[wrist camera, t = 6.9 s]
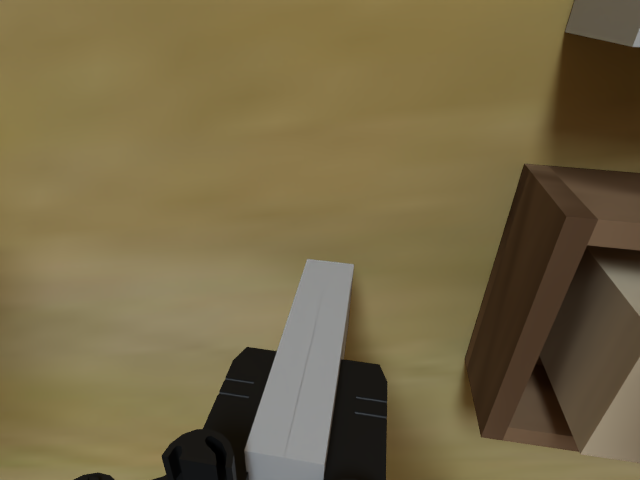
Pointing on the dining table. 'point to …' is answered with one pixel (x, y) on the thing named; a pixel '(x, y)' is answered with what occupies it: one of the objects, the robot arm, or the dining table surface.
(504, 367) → the walnut box
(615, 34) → the grey tub
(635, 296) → the letter cube
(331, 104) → the dining table surface
